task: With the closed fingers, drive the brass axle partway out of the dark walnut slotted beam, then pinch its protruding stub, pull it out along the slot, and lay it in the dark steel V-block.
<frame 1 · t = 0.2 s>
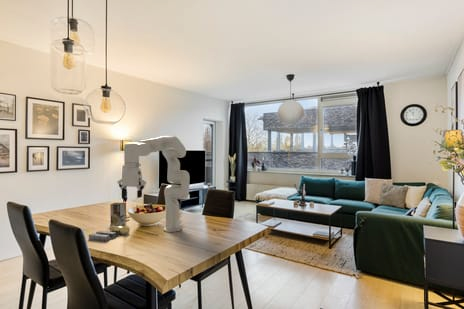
hand: (131, 196, 140), 31 cm above the table, fingers open, 9 cm apart
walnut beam: (119, 233, 175), on the table
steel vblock: (102, 238, 165), on the table
brass axle: (119, 233, 175), on the table
coffee box: (118, 224, 196), on the table
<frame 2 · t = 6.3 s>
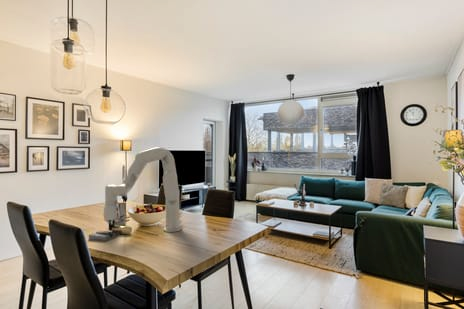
hand: (111, 229, 176), 2 cm above the table, fingers closed
brass axle: (121, 233, 174), on the table, tilted 9°, touching gripper
everything else where it was.
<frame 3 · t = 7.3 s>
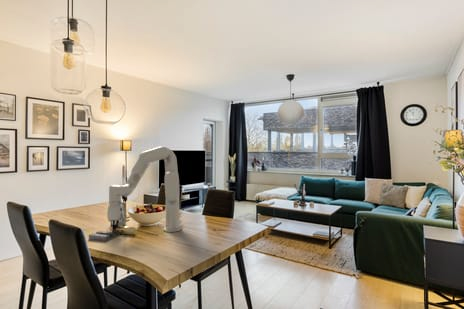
hand: (115, 229, 175), 2 cm above the table, fingers closed
brass axle: (125, 234, 173), on the table, tilted 9°, touching gripper
everything else where it was.
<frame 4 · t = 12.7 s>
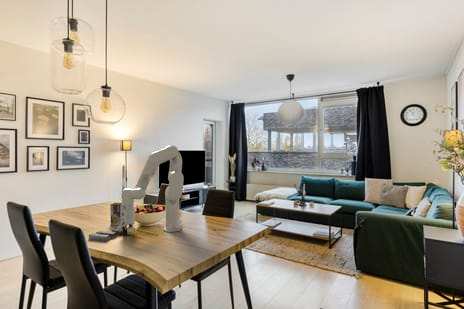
hand: (127, 233, 173), 0 cm above the table, fingers closed on brass axle, 5 cm apart
brass axle: (125, 234, 173), on the table, touching gripper
everything else where it was.
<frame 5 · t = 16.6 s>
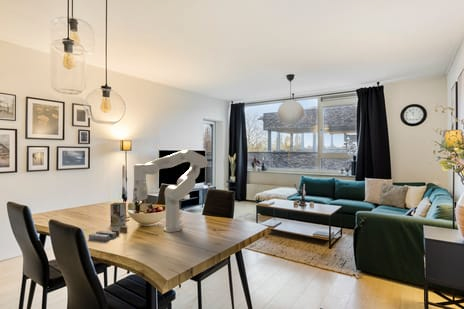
hand: (140, 209, 170), 17 cm above the table, fingers closed on brass axle, 5 cm apart
brass axle: (137, 210, 171), point 17 cm above the table, touching gripper
everything else where it was.
when the fingers open (5 cm above the table, at t = 20.7 s): brass axle drops 2 cm, resting on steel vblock.
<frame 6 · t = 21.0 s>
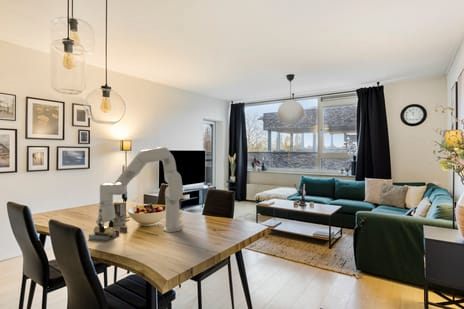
hand: (106, 230, 164), 5 cm above the table, fingers open, 7 cm apart
brass axle: (104, 234, 165), point 2 cm above the table, touching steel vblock
everything else where it was.
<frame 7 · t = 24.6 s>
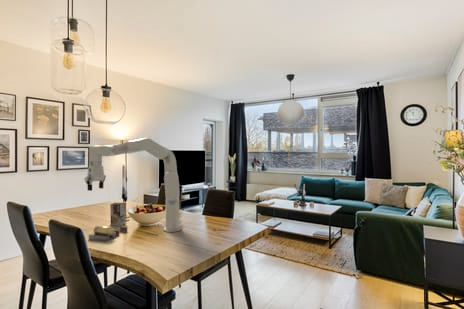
hand: (95, 189, 172), 30 cm above the table, fingers open, 9 cm apart
nothing on the table moved.
at the end: brass axle inside the target area on the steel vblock (1.3 cm from its centre), point 2.5 cm above the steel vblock's base; brass axle touching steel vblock; the gripper is holding nothing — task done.
